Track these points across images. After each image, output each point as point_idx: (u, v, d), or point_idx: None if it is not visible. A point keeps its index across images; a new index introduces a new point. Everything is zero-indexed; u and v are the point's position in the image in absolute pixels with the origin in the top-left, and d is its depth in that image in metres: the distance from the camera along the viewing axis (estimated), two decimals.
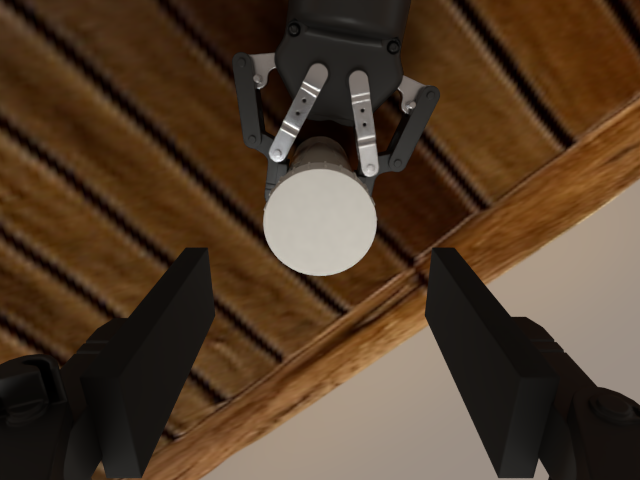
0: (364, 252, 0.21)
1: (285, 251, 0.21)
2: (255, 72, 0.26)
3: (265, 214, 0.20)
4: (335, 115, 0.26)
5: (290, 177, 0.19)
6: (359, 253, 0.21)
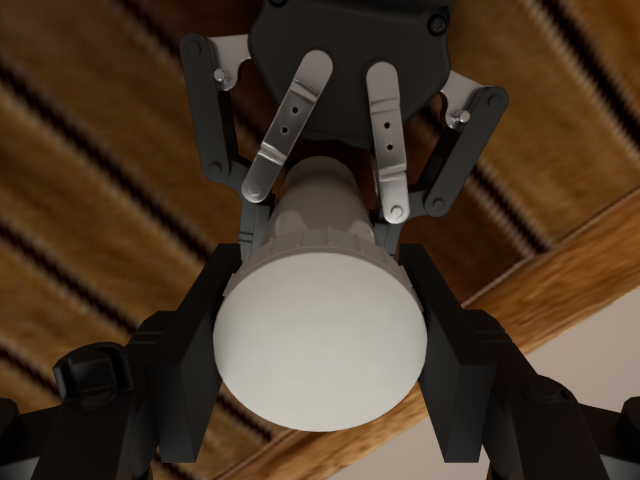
0: (402, 395, 0.11)
1: (256, 393, 0.11)
2: (218, 65, 0.17)
3: (215, 332, 0.10)
4: (343, 132, 0.17)
5: (261, 268, 0.10)
6: (393, 396, 0.11)
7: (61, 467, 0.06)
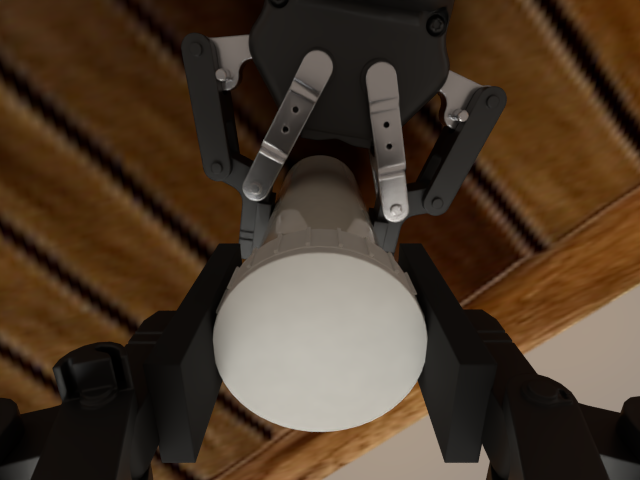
0: (399, 287, 0.10)
1: (355, 411, 0.11)
2: (220, 65, 0.17)
3: (279, 423, 0.11)
4: (343, 131, 0.17)
5: (221, 376, 0.11)
6: (399, 296, 0.10)
7: (61, 466, 0.06)
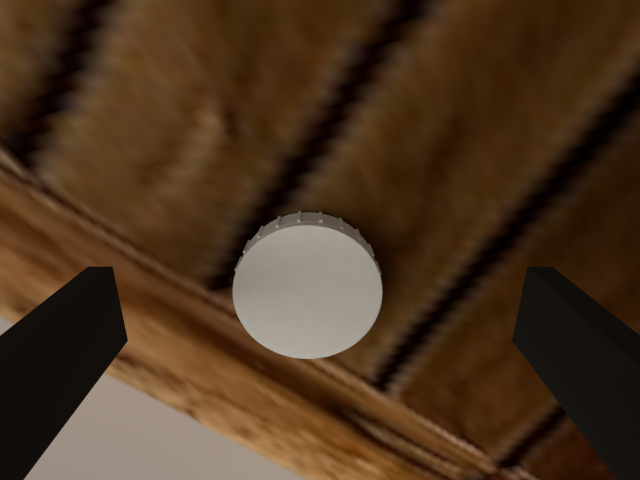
0: (361, 249, 0.14)
1: (333, 342, 0.16)
2: None
3: (279, 352, 0.16)
4: None
5: (238, 316, 0.15)
6: (361, 256, 0.15)
7: None
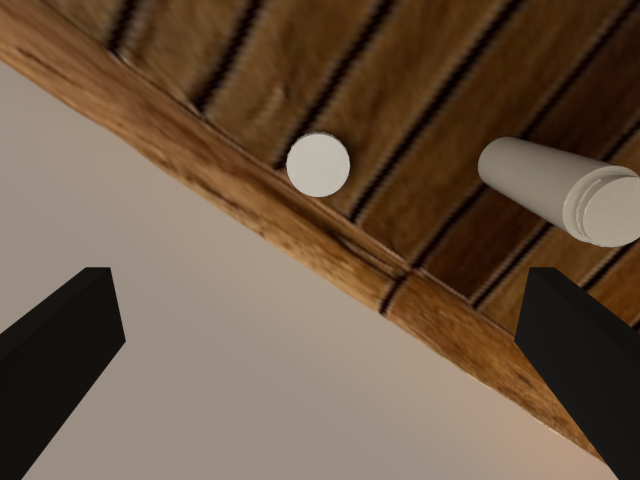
0: (340, 144, 0.35)
1: (329, 188, 0.37)
2: None
3: (305, 193, 0.37)
4: None
5: (289, 175, 0.36)
6: (340, 147, 0.35)
7: None
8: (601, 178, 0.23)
